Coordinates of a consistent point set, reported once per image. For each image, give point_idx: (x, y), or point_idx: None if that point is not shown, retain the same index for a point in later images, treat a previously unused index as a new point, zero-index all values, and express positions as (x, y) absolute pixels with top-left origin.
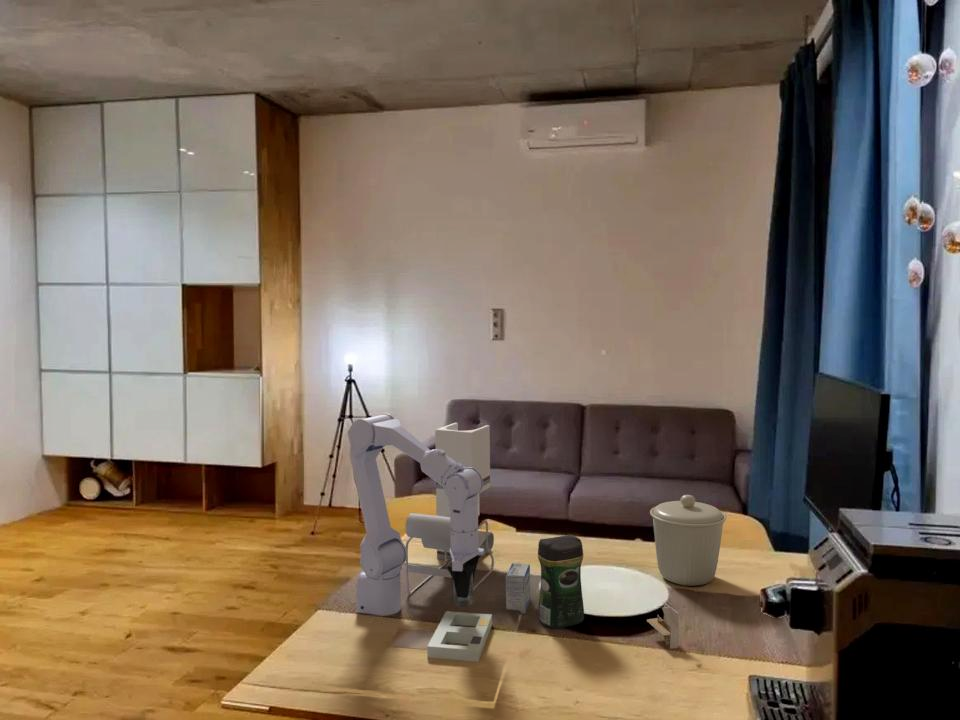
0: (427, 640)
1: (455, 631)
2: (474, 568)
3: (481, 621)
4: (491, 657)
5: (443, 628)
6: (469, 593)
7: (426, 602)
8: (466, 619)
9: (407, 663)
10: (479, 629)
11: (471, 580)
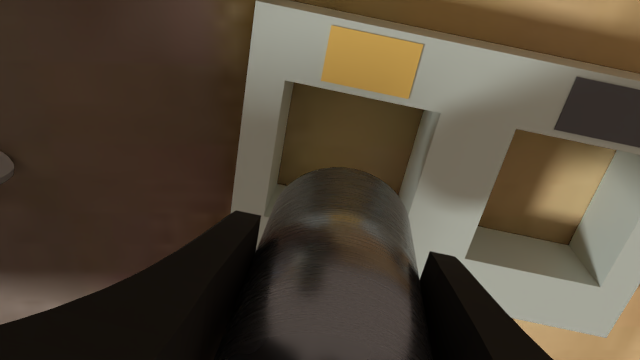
0: None
1: (469, 218)
2: (183, 327)
3: (359, 75)
4: (618, 10)
5: None
6: (404, 245)
7: (38, 292)
8: (277, 151)
9: (571, 351)
10: (469, 90)
11: (380, 303)
